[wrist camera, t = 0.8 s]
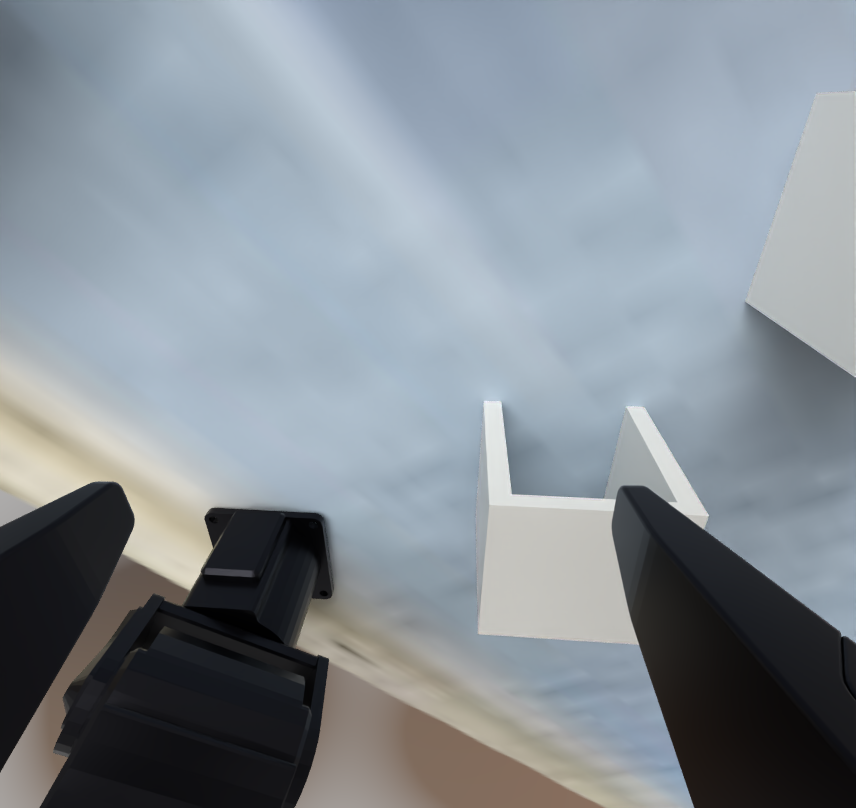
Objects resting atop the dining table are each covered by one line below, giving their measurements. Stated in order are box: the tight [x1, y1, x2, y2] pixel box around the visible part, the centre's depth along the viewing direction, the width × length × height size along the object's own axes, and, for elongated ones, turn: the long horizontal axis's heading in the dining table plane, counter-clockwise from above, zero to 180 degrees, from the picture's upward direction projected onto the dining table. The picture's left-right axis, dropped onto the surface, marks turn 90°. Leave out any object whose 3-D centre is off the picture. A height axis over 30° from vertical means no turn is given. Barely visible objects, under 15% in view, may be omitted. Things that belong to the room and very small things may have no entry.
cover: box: [475, 401, 709, 645], centre depth 21 cm, size 7×7×7 cm
